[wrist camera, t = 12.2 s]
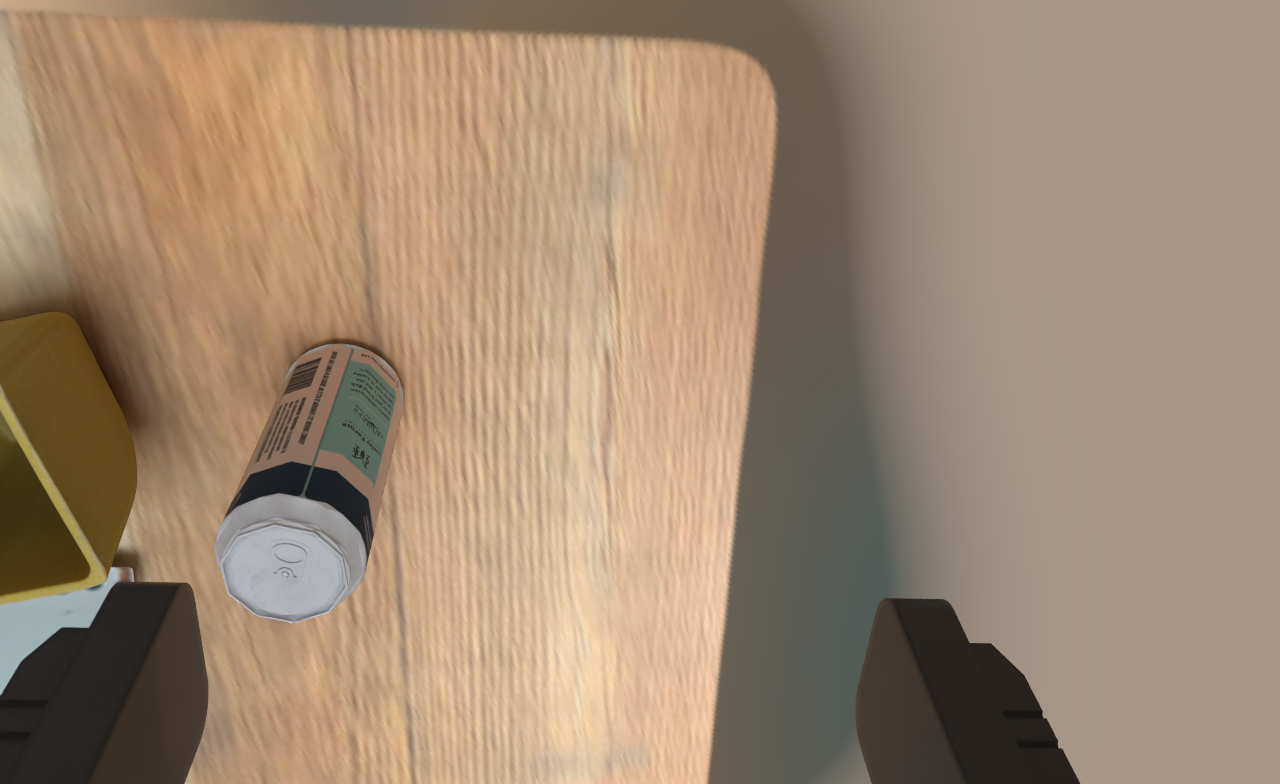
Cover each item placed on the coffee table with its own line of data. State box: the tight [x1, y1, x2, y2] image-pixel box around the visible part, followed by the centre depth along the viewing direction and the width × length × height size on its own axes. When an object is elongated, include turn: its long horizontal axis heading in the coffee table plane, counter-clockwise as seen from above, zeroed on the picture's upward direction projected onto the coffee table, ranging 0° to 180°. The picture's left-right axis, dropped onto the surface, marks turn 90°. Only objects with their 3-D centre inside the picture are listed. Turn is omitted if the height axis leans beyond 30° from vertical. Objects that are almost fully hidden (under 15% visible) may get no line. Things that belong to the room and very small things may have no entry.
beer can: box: [215, 344, 404, 623], centre depth 39 cm, size 5×5×12 cm
